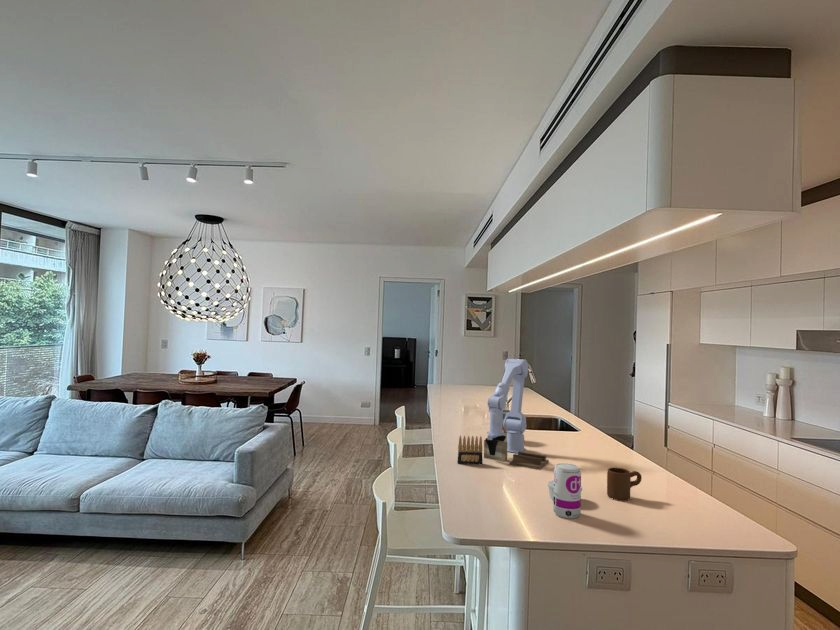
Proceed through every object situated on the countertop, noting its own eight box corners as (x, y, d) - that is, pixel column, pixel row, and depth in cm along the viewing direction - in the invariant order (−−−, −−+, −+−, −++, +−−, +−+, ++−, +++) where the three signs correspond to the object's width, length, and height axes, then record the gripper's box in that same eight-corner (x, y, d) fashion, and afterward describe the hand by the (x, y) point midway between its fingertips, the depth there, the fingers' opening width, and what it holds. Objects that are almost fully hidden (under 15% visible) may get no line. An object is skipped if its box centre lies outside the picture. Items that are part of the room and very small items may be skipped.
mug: (635, 493, 174) (636, 467, 175) (646, 501, 167) (647, 473, 167) (603, 493, 174) (603, 467, 174) (612, 501, 166) (613, 473, 166)
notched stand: (520, 457, 221) (520, 449, 221) (548, 462, 214) (548, 454, 214) (509, 464, 209) (509, 456, 209) (539, 469, 202) (539, 461, 202)
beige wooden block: (486, 456, 221) (486, 438, 222) (507, 460, 216) (507, 442, 216) (483, 457, 219) (484, 440, 219) (504, 461, 214) (505, 443, 214)
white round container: (588, 505, 162) (588, 489, 162) (558, 507, 159) (558, 491, 159) (570, 493, 173) (570, 478, 173) (541, 495, 170) (542, 480, 170)
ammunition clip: (482, 463, 209) (482, 435, 210) (482, 464, 208) (483, 436, 208) (457, 462, 210) (458, 434, 210) (457, 464, 208) (458, 435, 208)
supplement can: (585, 518, 150) (586, 469, 151) (562, 520, 148) (563, 470, 148) (570, 508, 158) (571, 462, 158) (548, 510, 156) (549, 463, 156)
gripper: (494, 419, 226) (493, 448, 226) (481, 424, 214) (480, 455, 213) (508, 421, 223) (507, 451, 222) (496, 426, 210) (495, 457, 210)
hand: (495, 453), depth 218 cm, fingers open, 7 cm apart
